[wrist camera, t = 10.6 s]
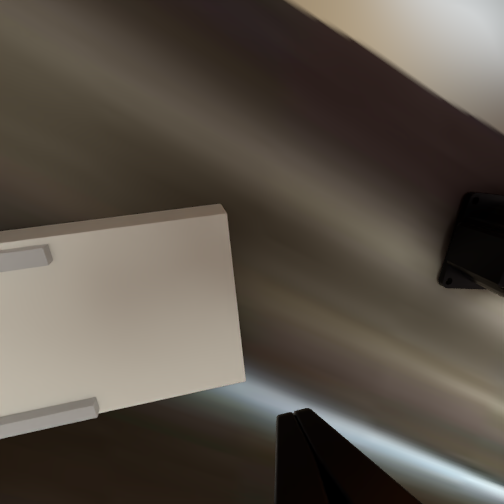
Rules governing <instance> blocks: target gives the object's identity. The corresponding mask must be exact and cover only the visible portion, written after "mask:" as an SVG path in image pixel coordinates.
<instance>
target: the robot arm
mask: <svg viewBox="0 0 504 504" xmlns="http://www.w3.org/2000/svg"><path fill="white" fill-rule="evenodd" d="M473 198H474V201H473V202H472V200H473ZM447 279H448V280H447ZM446 280H447V281H446ZM438 282H439V284H440V285H441V286H443V287H445V288H460V289H488V290H490V291H492V292H494V293H496V294H498V295H500V296H502V297H504V195H496V194H487V193H478V192H470V193H468V194H467V195H466V196H465V198H464V201H463V204H462V207H461V210H460V213H459V216H458V220H457V223H456V226H455V229H454V232H453V235H452V239H451V242H450V245H449V248H448V251H447V254H446V257H445V261H444V264H443V267H442V270H441V273H440V276H439V281H438ZM274 504H422V503H421V502H420V501H419V500H417V499H416V498H415V497H414V496H413V495H412V494H410V493H409V492H408V491H407V490H406V489H404V488H403V487H402V486H401V485H400V484H399V483H397V482H396V481H395V480H394V479H393V478H391V477H390V476H389V475H388V474H387V473H386V472H384V471H383V470H382V469H381V468H380V467H378V466H377V465H376V464H375V463H374V462H373V461H371V460H370V459H369V458H368V457H367V456H365V455H364V454H363V453H362V452H361V451H360V450H358V449H357V448H356V447H355V446H354V445H352V444H351V443H350V442H349V441H348V440H347V439H345V438H344V437H343V436H342V435H341V434H339V433H338V432H337V431H336V430H335V429H334V428H332V427H331V426H330V425H329V424H328V423H326V422H325V421H324V420H323V419H322V418H321V417H319V416H318V415H317V414H316V413H315V412H313V411H312V410H311V409H309V408H305V409H301V410H297V411H295V412H294V413H292V412H289V413H285V414H280V415H278V416H277V421H276V458H275V496H274Z"/></svg>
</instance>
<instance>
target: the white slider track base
mask: <svg viewBox="0 0 504 504" xmlns="http://www.w3.org/2000/svg"><path fill="white" fill-rule="evenodd" d="M244 381H246V379H245V370H244V361H243V352H242V343H241V334H240V326H239V317H238V308H237V299H236V290H235V281H234V272H233V263H232V255H231V246H230V237H229V228H228V219H227V213H226V211H225V210H224V208H223V207H222V205H221V203H220V204H212V205H204V206H197V207H189V208H181V209H173V210H165V211H157V212H149V213H141V214H133V215H125V216H117V217H109V218H101V219H93V220H85V221H78V222H70V223H62V224H54V225H46V226H38V227H30V228H22V229H14V230H6V231H0V439H1V438H6V437H10V436H15V435H19V434H24V433H29V432H33V431H38V430H42V429H47V428H51V427H56V426H60V425H65V424H69V423H74V422H78V421H83V420H87V419H92V418H96V417H98V413H103V412H107V411H112V410H116V409H121V408H126V407H130V406H135V405H139V404H144V403H148V402H153V401H158V400H162V399H167V398H171V397H176V396H180V395H185V394H190V393H194V392H199V391H203V390H208V389H212V388H217V387H221V386H226V385H231V384H235V383H240V382H244Z"/></svg>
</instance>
